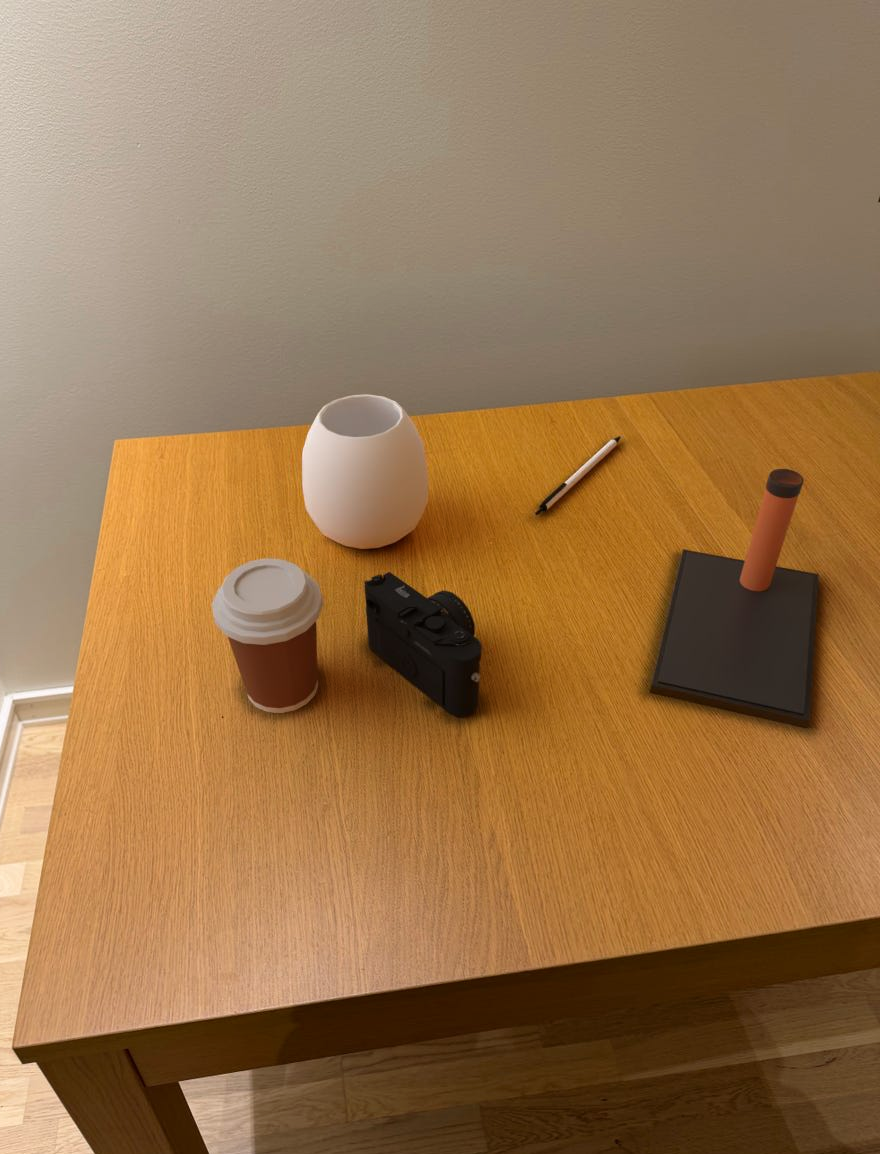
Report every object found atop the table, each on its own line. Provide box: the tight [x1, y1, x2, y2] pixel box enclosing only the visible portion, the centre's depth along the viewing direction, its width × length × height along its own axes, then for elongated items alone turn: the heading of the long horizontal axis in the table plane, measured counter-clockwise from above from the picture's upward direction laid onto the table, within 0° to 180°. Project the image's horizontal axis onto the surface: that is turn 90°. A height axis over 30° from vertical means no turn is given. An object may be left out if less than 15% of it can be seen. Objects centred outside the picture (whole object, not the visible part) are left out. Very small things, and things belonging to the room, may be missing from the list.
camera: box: [363, 571, 483, 718], centre depth 81 cm, size 14×7×8 cm, turn 41°
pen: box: [535, 435, 622, 516], centre depth 104 cm, size 1×19×1 cm, turn 143°
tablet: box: [649, 549, 820, 729], centre depth 85 cm, size 20×13×1 cm, turn 160°
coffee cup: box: [211, 557, 324, 714], centre depth 78 cm, size 9×9×12 cm
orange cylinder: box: [740, 468, 805, 592], centre depth 85 cm, size 3×3×12 cm
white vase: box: [301, 393, 430, 550], centre depth 95 cm, size 13×13×14 cm
